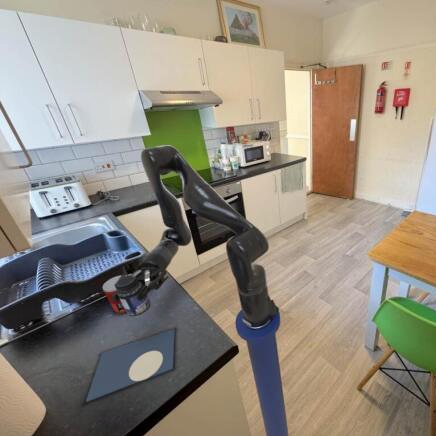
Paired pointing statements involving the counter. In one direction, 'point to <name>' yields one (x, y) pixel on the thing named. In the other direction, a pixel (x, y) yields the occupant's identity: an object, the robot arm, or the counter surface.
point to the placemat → (133, 363)
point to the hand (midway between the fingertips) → (126, 299)
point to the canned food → (109, 291)
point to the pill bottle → (132, 295)
